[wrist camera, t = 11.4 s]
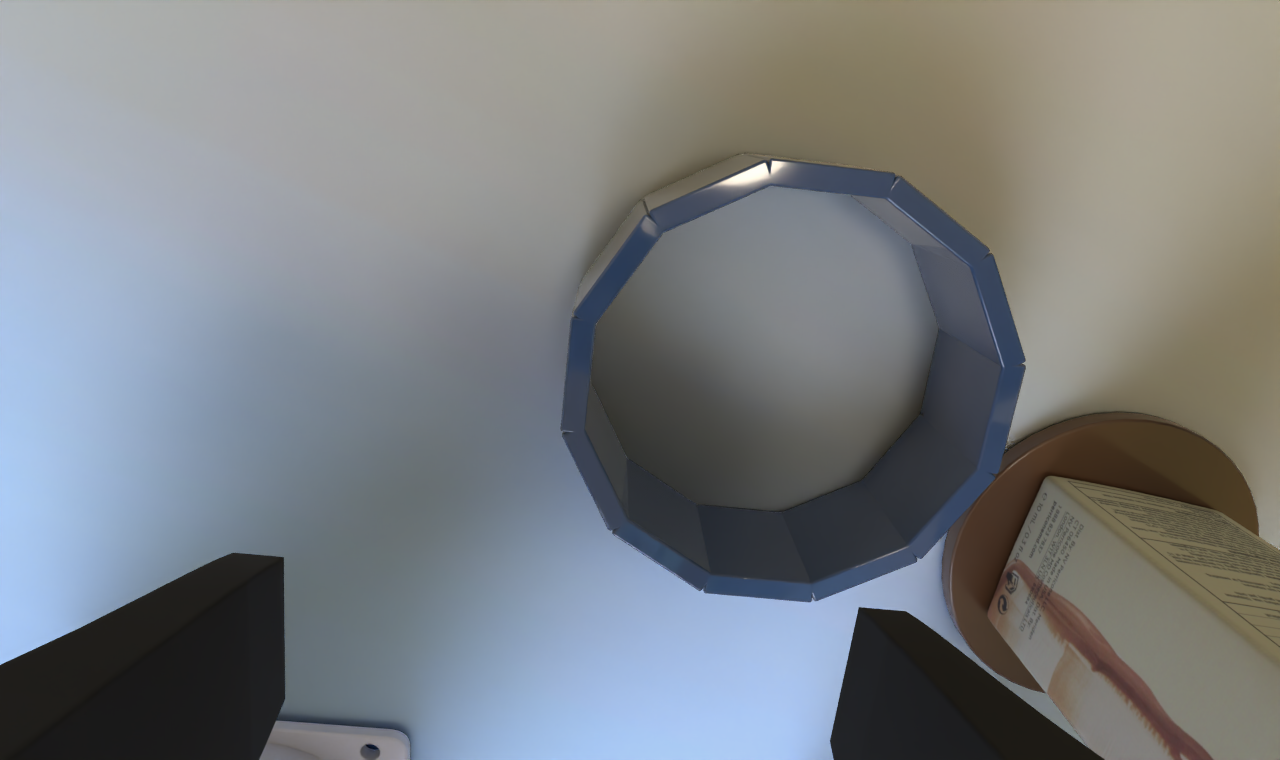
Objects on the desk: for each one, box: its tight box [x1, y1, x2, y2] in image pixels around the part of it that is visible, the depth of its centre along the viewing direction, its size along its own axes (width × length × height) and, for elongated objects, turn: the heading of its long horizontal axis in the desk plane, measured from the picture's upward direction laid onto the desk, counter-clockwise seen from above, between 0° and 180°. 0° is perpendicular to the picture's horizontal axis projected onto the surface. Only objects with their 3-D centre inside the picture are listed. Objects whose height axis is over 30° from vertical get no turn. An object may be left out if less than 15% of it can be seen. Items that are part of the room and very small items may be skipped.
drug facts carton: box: [988, 476, 1280, 760], centre depth 17 cm, size 5×4×10 cm
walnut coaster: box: [942, 412, 1259, 693], centre depth 22 cm, size 8×8×1 cm
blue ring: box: [561, 153, 1026, 602], centre depth 19 cm, size 9×9×4 cm
